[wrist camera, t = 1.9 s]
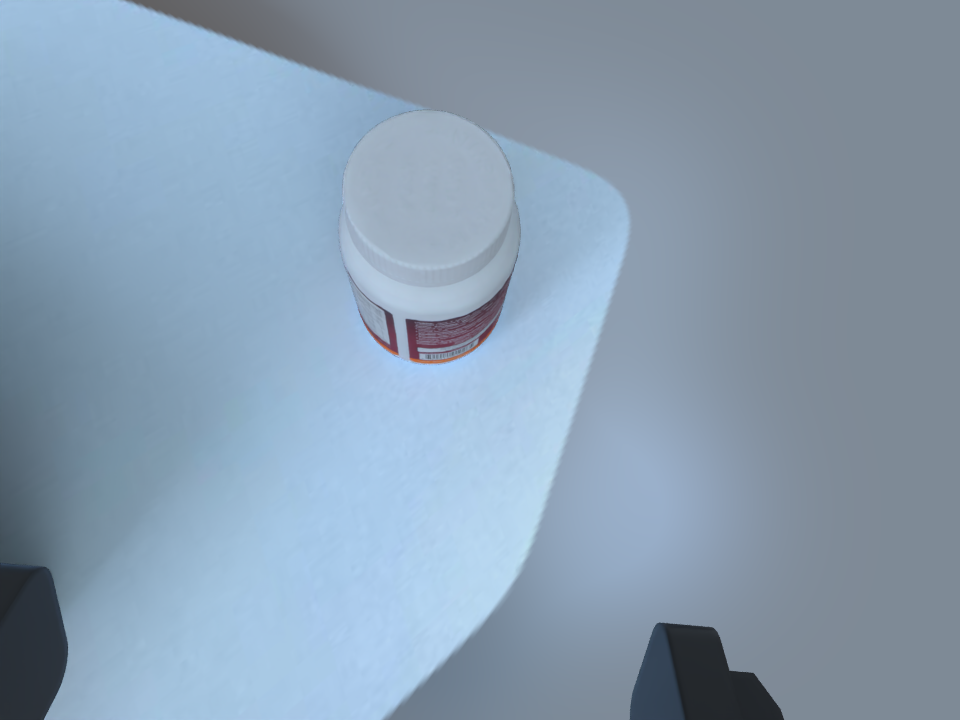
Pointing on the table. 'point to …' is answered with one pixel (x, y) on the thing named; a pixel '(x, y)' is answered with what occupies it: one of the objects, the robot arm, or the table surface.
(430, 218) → the pill bottle
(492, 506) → the table surface
